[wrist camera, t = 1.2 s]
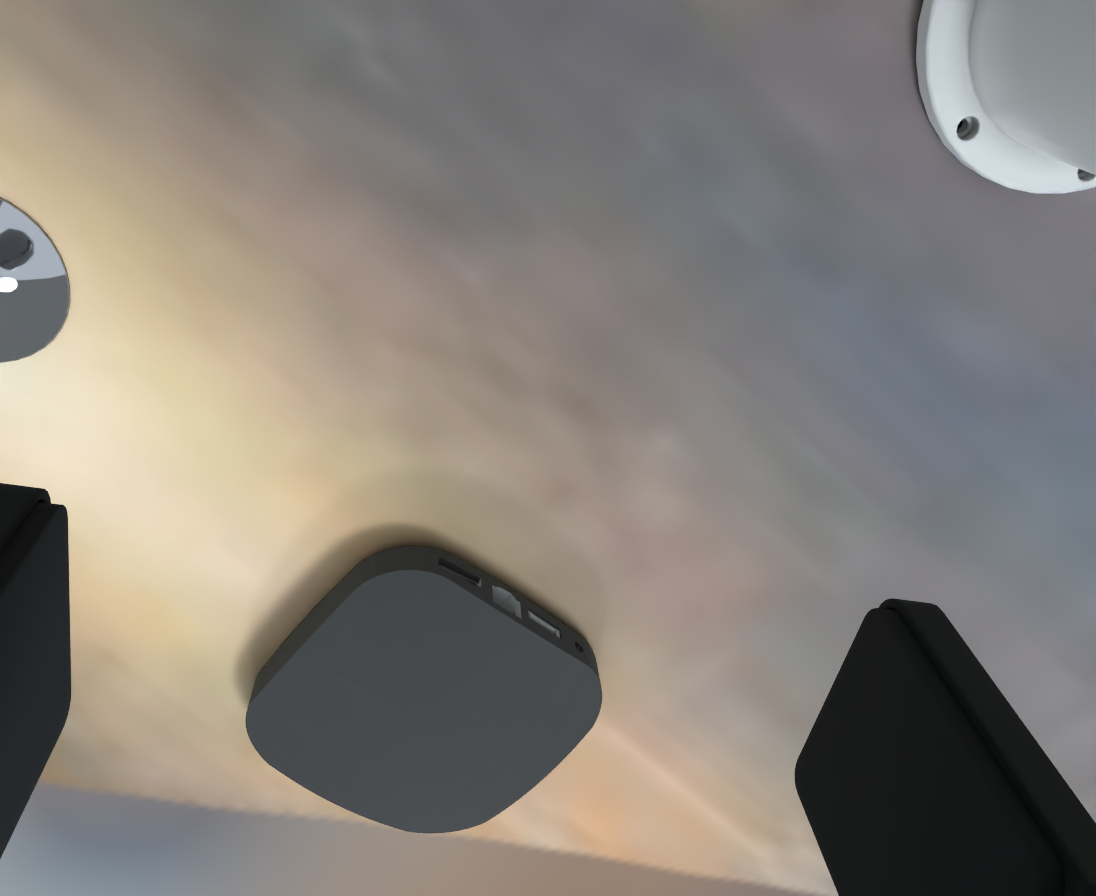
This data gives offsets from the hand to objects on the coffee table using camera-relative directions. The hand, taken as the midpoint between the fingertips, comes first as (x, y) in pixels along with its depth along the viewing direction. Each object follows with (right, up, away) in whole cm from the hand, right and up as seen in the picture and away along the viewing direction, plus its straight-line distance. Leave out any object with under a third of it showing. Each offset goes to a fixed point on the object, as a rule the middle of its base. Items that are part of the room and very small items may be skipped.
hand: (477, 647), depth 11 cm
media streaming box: (-5, -10, +37) cm, 39 cm away
